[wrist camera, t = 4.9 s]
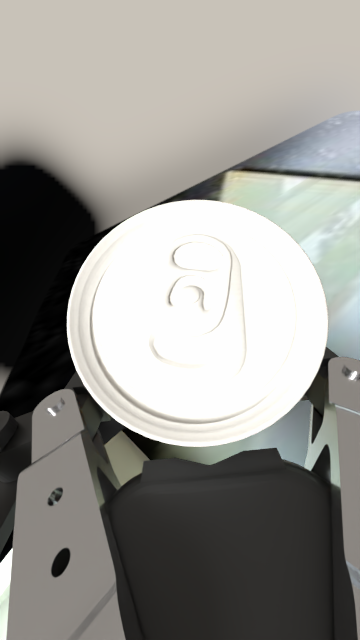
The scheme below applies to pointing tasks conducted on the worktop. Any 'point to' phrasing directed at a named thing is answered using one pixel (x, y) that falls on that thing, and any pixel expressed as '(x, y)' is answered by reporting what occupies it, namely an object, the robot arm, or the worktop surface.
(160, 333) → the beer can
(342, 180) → the worktop surface
